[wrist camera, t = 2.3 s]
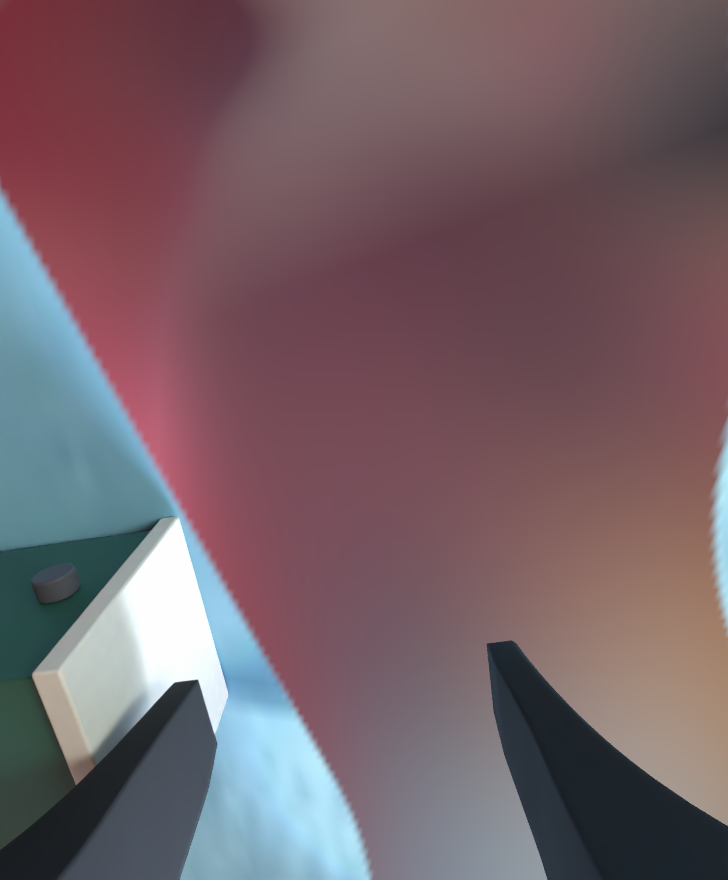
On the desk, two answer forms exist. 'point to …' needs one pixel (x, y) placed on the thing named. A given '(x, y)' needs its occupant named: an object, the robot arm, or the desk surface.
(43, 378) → the desk surface
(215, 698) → the green and cream block
